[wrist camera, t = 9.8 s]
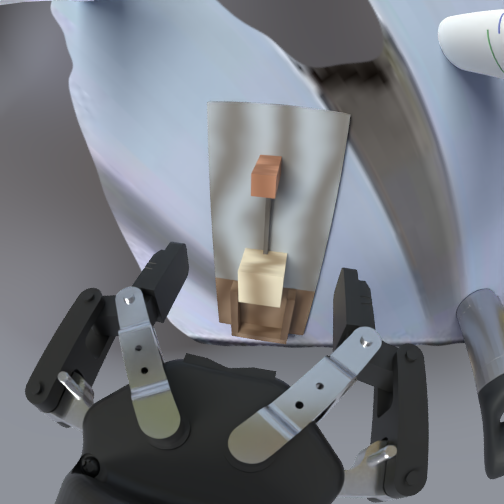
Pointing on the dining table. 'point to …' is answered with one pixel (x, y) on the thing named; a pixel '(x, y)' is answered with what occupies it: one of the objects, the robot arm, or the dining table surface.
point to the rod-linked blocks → (263, 261)
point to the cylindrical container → (475, 42)
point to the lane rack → (272, 205)
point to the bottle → (8, 0)
